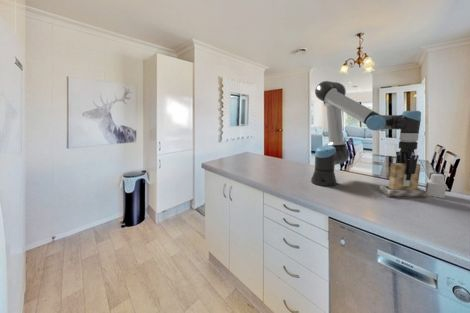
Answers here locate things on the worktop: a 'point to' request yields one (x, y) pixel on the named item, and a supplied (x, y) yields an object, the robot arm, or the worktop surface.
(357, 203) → the worktop surface
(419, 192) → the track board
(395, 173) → the door slab
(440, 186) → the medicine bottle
